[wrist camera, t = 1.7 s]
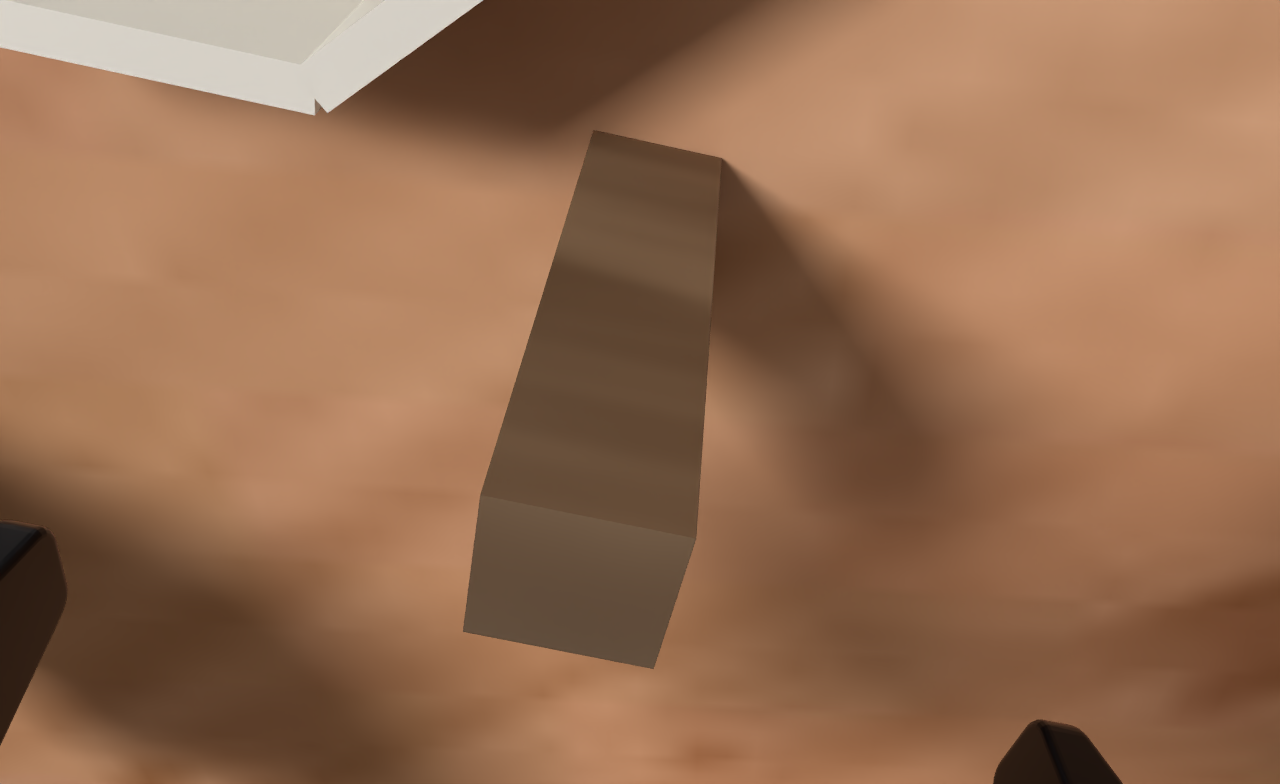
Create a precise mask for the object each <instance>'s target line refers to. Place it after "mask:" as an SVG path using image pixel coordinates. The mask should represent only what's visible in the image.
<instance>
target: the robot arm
mask: <svg viewBox="0 0 1280 784" xmlns="http://www.w3.org/2000/svg"><path fill="white" fill-rule="evenodd" d="M66 599H67V582H66V578H65V574H64V570H63V566H62V562H61V558H60V554H59V550H58V546H57V541H56V538H55V535H54V533H53V532H52V531H51V530H50V529H49V528H47V527H44V526H40V525H35V524H30V523H24V522H19V521H14V520H2V521H0V745H1V743H2V741H3V739H4V737H5V734H6V732H7V730H8V728H9V726H10V724H11V722H12V720H13V717H14V715H15V713H16V711H17V709H18V707H19V705H20V703H21V700H22V698H23V696H24V694H25V692H26V690H27V688H28V685H29V683H30V681H31V679H32V677H33V675H34V673H35V671H36V668H37V666H38V664H39V662H40V660H41V658H42V656H43V653H44V651H45V649H46V647H47V645H48V643H49V641H50V639H51V636H52V634H53V632H54V630H55V628H56V626H57V624H58V621H59V619H60V617H61V615H62V613H63V610H64V607H65V604H66ZM993 784H1123V783H1122V782H1121V780H1120V779H1119V778H1118V776H1117V775H1116V774H1115V773H1114V771H1113V770H1112V769H1111V767H1110V766H1109V765H1108V763H1107V762H1106V761H1105V759H1104V758H1103V757H1102V755H1101V754H1100V753H1099V751H1098V750H1097V749H1096V747H1095V746H1094V745H1093V743H1092V742H1091V741H1090V739H1089V738H1088V737H1087V736H1086V735H1085V734H1084V733H1083V732H1082V731H1081V730H1080V729H1078V728H1077V727H1074V726H1071V725H1067V724H1062V723H1057V722H1052V721H1046V720H1035V721H1033V722H1031V723H1030V724H1029V725H1028V726H1027V727H1026V728H1025V730H1024V731H1023V732H1022V734H1021V735H1020V736H1019V738H1018V739H1017V740H1016V742H1015V743H1014V744H1013V746H1012V747H1011V748H1010V750H1009V751H1008V752H1007V754H1006V755H1005V756H1004V758H1003V759H1002V760H1001V762H1000V763H999V765H998V767H997V770H996V772H995V776H994V782H993Z"/></svg>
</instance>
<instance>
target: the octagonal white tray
mask: <svg viewBox="0 0 1280 784" xmlns="http://www.w3.org/2000/svg"><path fill="white" fill-rule="evenodd" d="M481 1H483V0H0V47H1V48H6V49H11V50H15V51H20V52H24V53H29V54H34V55H38V56H43V57H47V58H52V59H57V60H61V61H66V62H71V63H75V64H80V65H84V66H89V67H94V68H98V69H103V70H107V71H112V72H117V73H121V74H126V75H131V76H135V77H140V78H144V79H149V80H154V81H158V82H163V83H167V84H172V85H177V86H181V87H186V88H191V89H195V90H200V91H204V92H209V93H214V94H218V95H223V96H227V97H232V98H237V99H241V100H246V101H251V102H255V103H260V104H264V105H269V106H274V107H278V108H283V109H287V110H292V111H297V112H301V113H306V114H311V115H315V114H316V113H317V112H318V111H319V110H320V109H321V107H323V109H324V110H325V111H326V112H327V113H328V112H330V111H331V110H332V109H334V108H335V107H337V106H338V105H339V104H341V103H342V102H344V101H345V100H346V99H348V98H349V97H350V96H352V95H353V94H355V93H356V92H357V91H359V90H360V89H361V88H363V87H364V86H366V85H367V84H368V83H370V82H371V81H372V80H374V79H375V78H377V77H378V76H379V75H381V74H382V73H383V72H385V71H386V70H388V69H389V68H390V67H392V66H393V65H395V64H396V63H397V62H399V61H400V60H401V59H403V58H404V57H406V56H407V55H408V54H410V53H411V52H412V51H414V50H415V49H417V48H418V47H419V46H421V45H422V44H423V43H425V42H426V41H428V40H429V39H430V38H432V37H433V36H434V35H436V34H437V33H439V32H440V31H441V30H443V29H444V28H445V27H447V26H448V25H450V24H451V23H452V22H454V21H455V20H457V19H458V18H459V17H461V16H462V15H463V14H465V13H466V12H468V11H469V10H470V9H472V8H473V7H474V6H476V5H477V4H479V3H480V2H481Z"/></svg>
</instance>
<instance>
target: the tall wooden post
mask: <svg viewBox="0 0 1280 784" xmlns="http://www.w3.org/2000/svg"><path fill="white" fill-rule="evenodd" d="M721 164H722V158H718V157H713V156H709V155H704V154H700V153H695V152H690V151H686V150H681V149H677V148H672V147H668V146H663V145H658V144H654V143H649V142H645V141H640V140H636V139H631V138H626V137H622V136H617V135H613V134H608V133H604V132H599V131H593V134H592V137H591V140H590V143H589V147H588V150H587V153H586V156H585V160H584V163H583V166H582V169H581V172H580V176H579V179H578V182H577V185H576V189H575V192H574V195H573V198H572V201H571V205H570V208H569V211H568V214H567V218H566V221H565V224H564V227H563V230H562V234H561V237H560V240H559V243H558V247H557V250H556V253H555V256H554V259H553V263H552V266H551V269H550V272H549V276H548V279H547V282H546V285H545V288H544V292H543V295H542V298H541V301H540V305H539V308H538V311H537V314H536V317H535V321H534V324H533V327H532V330H531V334H530V337H529V340H528V343H527V346H526V350H525V353H524V356H523V359H522V363H521V366H520V369H519V372H518V375H517V379H516V382H515V385H514V388H513V392H512V395H511V398H510V401H509V404H508V408H507V411H506V414H505V417H504V421H503V424H502V427H501V430H500V433H499V437H498V440H497V443H496V446H495V450H494V453H493V456H492V459H491V462H490V466H489V469H488V472H487V475H486V479H485V482H484V485H483V488H482V491H481V495H480V502H479V510H478V518H477V525H476V533H475V541H474V549H473V557H472V565H471V572H470V580H469V588H468V596H467V604H466V612H465V619H464V627H463V632H467V633H472V634H477V635H482V636H488V637H493V638H498V639H503V640H508V641H513V642H518V643H523V644H528V645H534V646H539V647H544V648H549V649H554V650H559V651H564V652H569V653H574V654H580V655H585V656H590V657H595V658H600V659H605V660H610V661H615V662H620V663H626V664H631V665H636V666H641V667H646V668H651V669H654V666H655V663H656V660H657V657H658V654H659V651H660V648H661V645H662V642H663V639H664V635H665V632H666V629H667V626H668V623H669V620H670V617H671V614H672V611H673V608H674V605H675V602H676V599H677V596H678V593H679V590H680V587H681V583H682V580H683V577H684V574H685V571H686V568H687V565H688V562H689V559H690V556H691V553H692V550H693V547H694V544H695V541H696V534H697V519H698V504H699V489H700V474H701V460H702V445H703V430H704V415H705V400H706V386H707V371H708V356H709V341H710V327H711V312H712V297H713V282H714V267H715V253H716V238H717V223H718V208H719V193H720V179H721Z"/></svg>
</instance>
